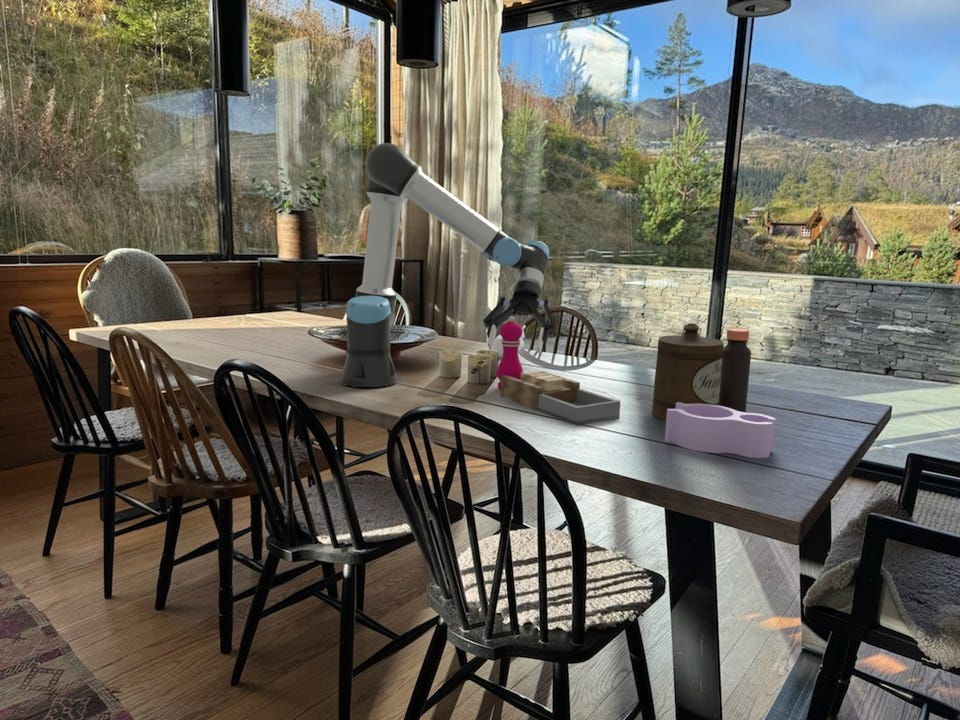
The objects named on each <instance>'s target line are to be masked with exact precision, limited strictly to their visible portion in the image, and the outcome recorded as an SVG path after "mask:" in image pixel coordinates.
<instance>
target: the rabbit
mask: <svg viewBox="0 0 960 720" xmlns="http://www.w3.org/2000/svg"><path fill="white" fill-rule="evenodd" d="M521 327H522V336H521V337H520V338H519V340H520V346H519V347H518V352H519V351H520V350H522V348H523V346H524V339H525V329H526V325H525V324H524V325H522V326H521ZM502 340H503V338H502V337H501V335H500V334H499V335H497V336H495V339H494V343H493V347H492V350H497V351H498V352H499V355H500V357H499V358H501V359H502V356H503V345H501V344H502ZM518 357H519V358H520V357H521V356H520V354H519V353H518Z"/></svg>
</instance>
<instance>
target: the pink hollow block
mask: <svg viewBox="0 0 960 720" xmlns="http://www.w3.org/2000/svg"><path fill="white" fill-rule="evenodd" d="M776 420H777V419H776V418H775V417H774V416H771V415H767V414H763V413H757V412H755V413H754V412H747V411H746V412H740V411H736V410H734V409H731V408H727V407H723V406H718V405H711V404H684V403H681V402H677V403H676V409H667V418H666V420H665V432H664V433H665V434H664V442H666V443H673V444H674V443H675V445H677V446H679V447H682V448H684V449H687V450H690V451H695V452H701V453H710V454H711V453H713V454H721V453H722V454H725V453H727V454H728V453H729V454H735V455H739V456H743V457H747V458H753V459H754V458H755V459H765V458H770V453H773V451H774V450H773V449H774V439H775V430H776V422H777V421H776Z"/></svg>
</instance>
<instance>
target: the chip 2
mask: <svg viewBox="0 0 960 720" xmlns="http://www.w3.org/2000/svg"><path fill="white" fill-rule="evenodd" d="M563 381H564V379H562V378H559V377H555V376H552V375H549V376H540V377H535V385H537V386H540V387H543V390H545V391H551V390H559V389H563Z"/></svg>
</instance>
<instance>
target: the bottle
mask: <svg viewBox="0 0 960 720" xmlns="http://www.w3.org/2000/svg"><path fill="white" fill-rule="evenodd" d="M726 330H727V331H726V342H727V343H726V345H724V346H723V355H722V368H721V383H720V394H719V403H718V406H723V407H727V408H731V409H734V410H736V411H740V412H746V413H747V402H748V401H747V399H748V390H749V381H750V380H749V379H750V371H751V370H750V369H751V360H752V359H751V358H752V351H751V349H750V348H749V347H748V346H747V343H749V337H750V330H748V329H745V328H728V329H726Z"/></svg>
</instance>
